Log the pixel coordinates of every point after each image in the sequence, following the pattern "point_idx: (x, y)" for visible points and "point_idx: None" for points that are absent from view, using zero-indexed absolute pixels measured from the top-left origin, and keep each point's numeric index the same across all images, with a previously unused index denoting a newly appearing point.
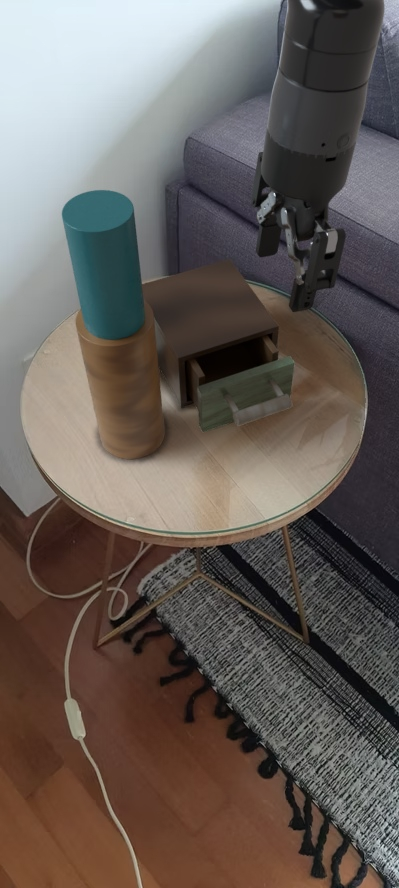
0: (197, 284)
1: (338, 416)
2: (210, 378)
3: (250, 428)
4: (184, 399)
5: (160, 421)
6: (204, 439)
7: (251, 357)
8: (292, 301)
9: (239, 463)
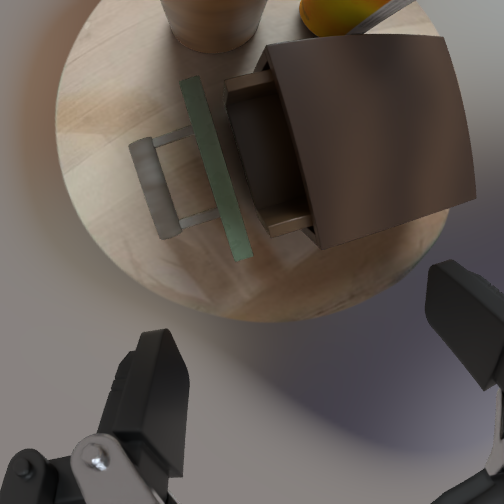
0: (441, 128)
1: (207, 290)
2: (285, 121)
3: (198, 170)
4: None
5: (189, 35)
6: None
7: None
8: (140, 355)
9: None
